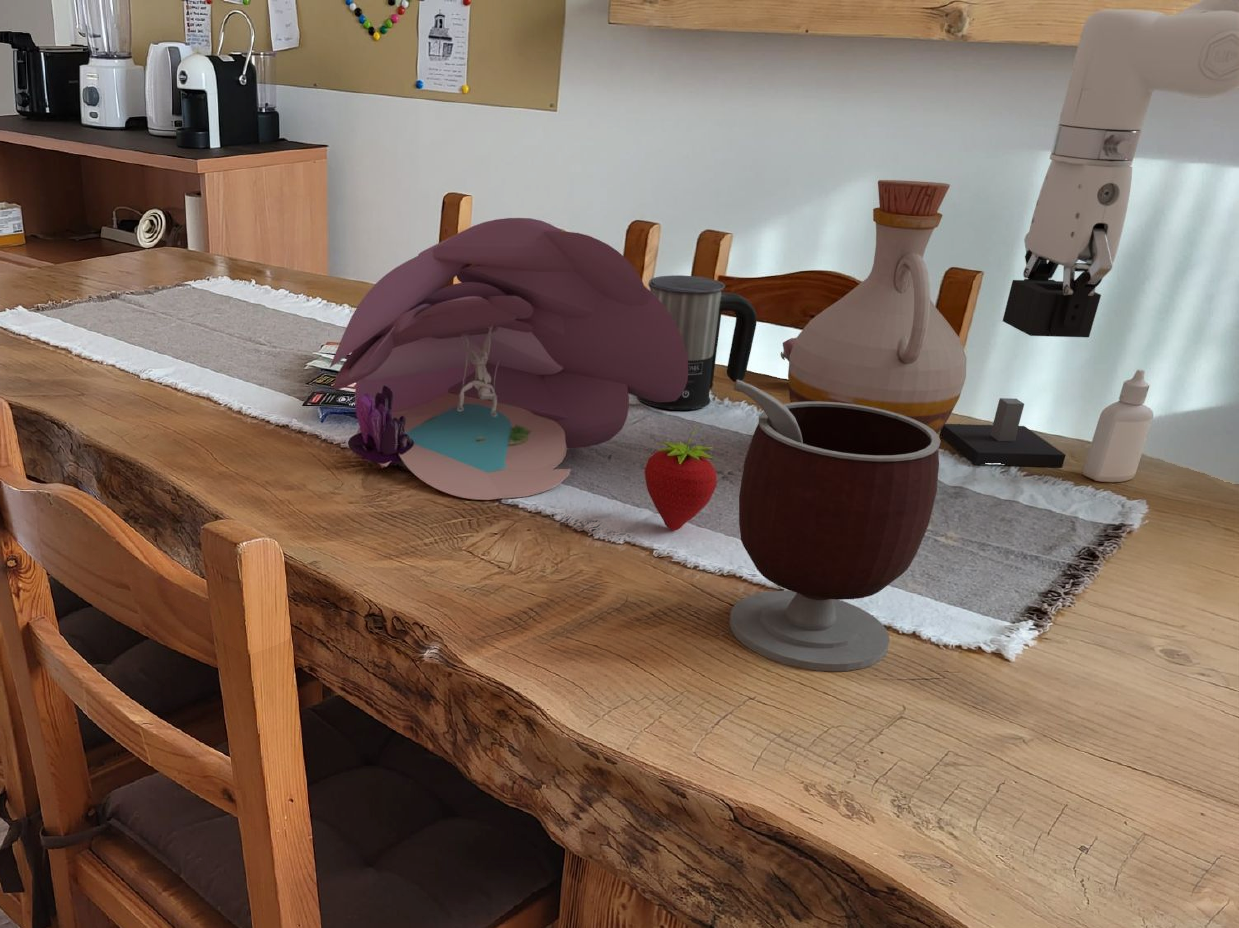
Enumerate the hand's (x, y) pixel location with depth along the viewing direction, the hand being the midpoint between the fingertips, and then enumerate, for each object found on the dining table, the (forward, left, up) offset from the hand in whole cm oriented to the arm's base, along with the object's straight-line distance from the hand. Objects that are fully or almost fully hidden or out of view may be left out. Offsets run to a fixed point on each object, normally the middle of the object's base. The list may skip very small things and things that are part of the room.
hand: (1046, 323), depth 125 cm
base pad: (0, -3, -16) cm, 16 cm away
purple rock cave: (+60, +6, -16) cm, 62 cm away
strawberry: (+43, +22, -16) cm, 51 cm away
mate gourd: (+37, +42, -16) cm, 58 cm away
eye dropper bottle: (-9, +5, -16) cm, 19 cm away
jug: (+19, +4, -16) cm, 25 cm away
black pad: (0, 0, -1) cm, 1 cm away
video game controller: (+15, -29, -16) cm, 36 cm away
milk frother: (+34, -23, -16) cm, 44 cm away
